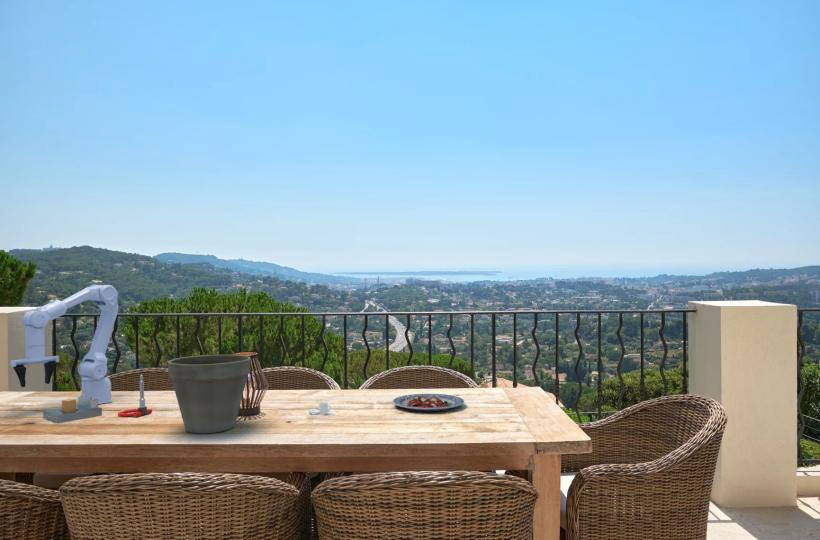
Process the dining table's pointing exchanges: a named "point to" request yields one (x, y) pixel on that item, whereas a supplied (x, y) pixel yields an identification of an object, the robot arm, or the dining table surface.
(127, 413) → the tow hook
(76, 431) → the dining table surface
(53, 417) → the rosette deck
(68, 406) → the tan rectangular block
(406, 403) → the ceramic plate
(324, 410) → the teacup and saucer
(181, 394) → the plant pot
